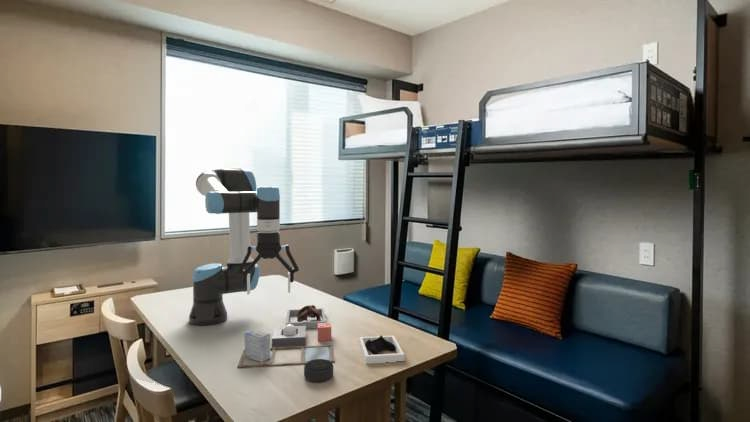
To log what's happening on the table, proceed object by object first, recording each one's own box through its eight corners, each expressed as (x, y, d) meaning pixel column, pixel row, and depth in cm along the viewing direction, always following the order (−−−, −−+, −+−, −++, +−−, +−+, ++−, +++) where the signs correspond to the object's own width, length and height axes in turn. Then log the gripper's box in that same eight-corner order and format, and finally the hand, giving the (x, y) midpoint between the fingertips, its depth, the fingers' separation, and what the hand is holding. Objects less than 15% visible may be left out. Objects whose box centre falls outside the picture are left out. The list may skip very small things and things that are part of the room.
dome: (282, 341, 155) (282, 327, 154) (283, 336, 160) (283, 322, 159) (296, 341, 156) (296, 326, 155) (296, 336, 161) (296, 322, 160)
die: (317, 340, 157) (317, 326, 156) (317, 335, 162) (317, 321, 161) (331, 340, 158) (331, 325, 157) (330, 335, 163) (330, 321, 162)
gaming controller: (391, 355, 151) (380, 339, 154) (397, 348, 149) (386, 332, 152) (370, 363, 143) (359, 346, 146) (377, 355, 141) (365, 338, 144)
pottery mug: (321, 328, 172) (311, 312, 170) (301, 336, 174) (291, 320, 171) (325, 311, 183) (316, 296, 181) (307, 319, 185) (297, 305, 183)
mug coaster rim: (285, 329, 168) (285, 323, 168) (287, 315, 186) (287, 309, 186) (325, 327, 171) (325, 321, 171) (323, 313, 188) (323, 308, 188)
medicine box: (270, 358, 141) (270, 333, 140) (260, 363, 137) (260, 337, 137) (254, 353, 145) (254, 328, 145) (244, 357, 142) (244, 332, 141)
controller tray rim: (365, 363, 138) (365, 356, 137) (359, 343, 154) (359, 337, 154) (404, 361, 140) (404, 354, 140) (393, 342, 157) (393, 335, 156)
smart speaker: (311, 368, 134) (311, 356, 134) (337, 372, 132) (337, 360, 131) (299, 381, 126) (299, 368, 126) (326, 385, 123) (326, 372, 123)
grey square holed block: (271, 346, 151) (271, 338, 151) (274, 334, 163) (274, 326, 162) (305, 345, 153) (305, 337, 153) (305, 333, 165) (305, 325, 164)
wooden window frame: (237, 368, 134) (237, 366, 133) (243, 350, 147) (243, 349, 147) (334, 362, 139) (334, 361, 138) (332, 345, 152) (332, 344, 152)
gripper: (228, 233, 137) (229, 296, 139) (305, 232, 142) (306, 293, 144) (231, 230, 145) (232, 291, 146) (305, 229, 150) (305, 288, 151)
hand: (269, 292), depth 145 cm, fingers open, 13 cm apart
